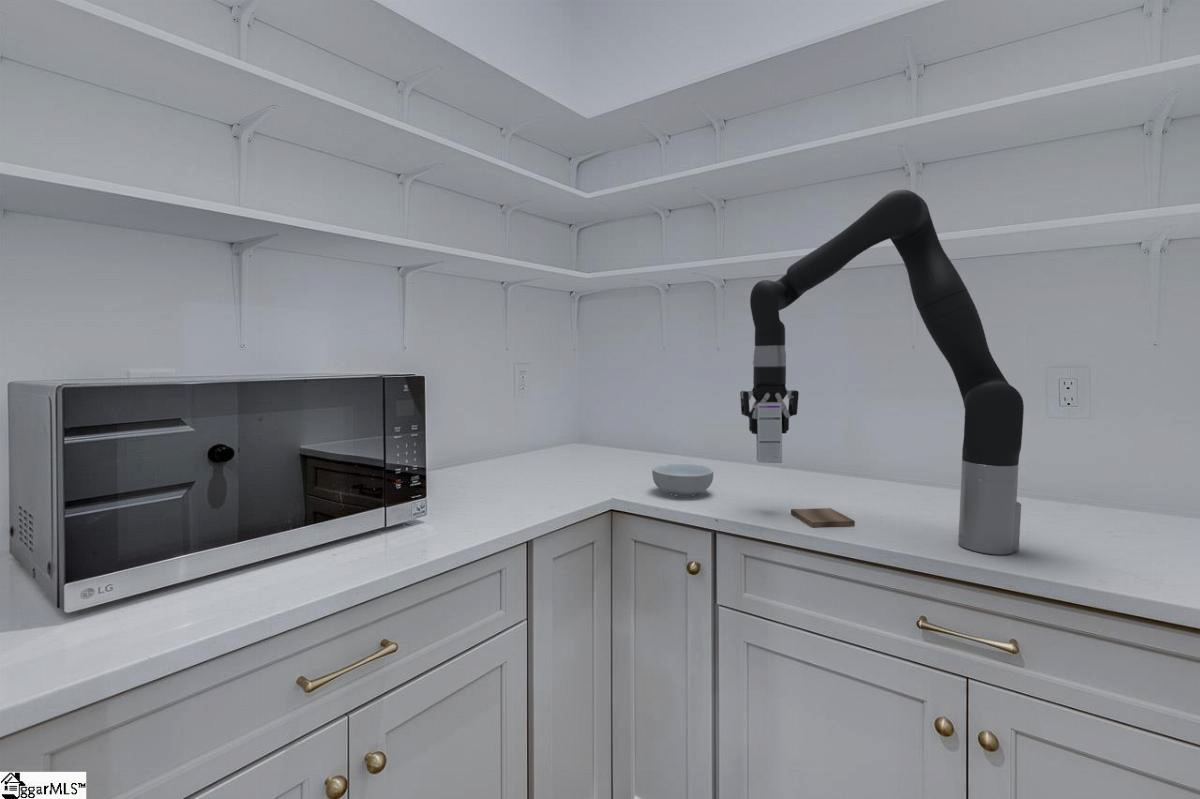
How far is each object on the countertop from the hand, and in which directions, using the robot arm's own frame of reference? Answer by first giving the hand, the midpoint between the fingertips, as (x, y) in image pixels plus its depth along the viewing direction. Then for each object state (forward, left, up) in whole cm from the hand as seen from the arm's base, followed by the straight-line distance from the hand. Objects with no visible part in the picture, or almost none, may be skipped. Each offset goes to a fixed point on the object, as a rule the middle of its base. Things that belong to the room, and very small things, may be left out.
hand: (768, 433), depth 139 cm
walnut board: (-10, +8, -19) cm, 23 cm away
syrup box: (0, 0, -7) cm, 7 cm away
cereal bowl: (+16, -21, -20) cm, 33 cm away
